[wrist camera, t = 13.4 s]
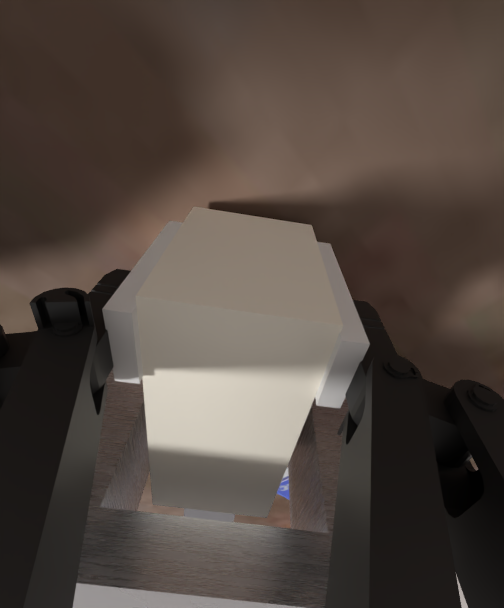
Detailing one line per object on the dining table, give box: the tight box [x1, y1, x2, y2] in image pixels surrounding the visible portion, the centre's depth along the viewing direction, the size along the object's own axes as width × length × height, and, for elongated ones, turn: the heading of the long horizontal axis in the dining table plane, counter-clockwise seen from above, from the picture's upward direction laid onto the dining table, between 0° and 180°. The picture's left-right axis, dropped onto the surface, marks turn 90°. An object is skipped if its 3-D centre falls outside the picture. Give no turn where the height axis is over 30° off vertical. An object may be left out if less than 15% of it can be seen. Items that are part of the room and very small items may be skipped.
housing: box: [73, 369, 349, 608], centre depth 16 cm, size 14×6×12 cm, turn 83°
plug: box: [136, 207, 343, 522], centre depth 17 cm, size 6×18×8 cm, turn 172°
